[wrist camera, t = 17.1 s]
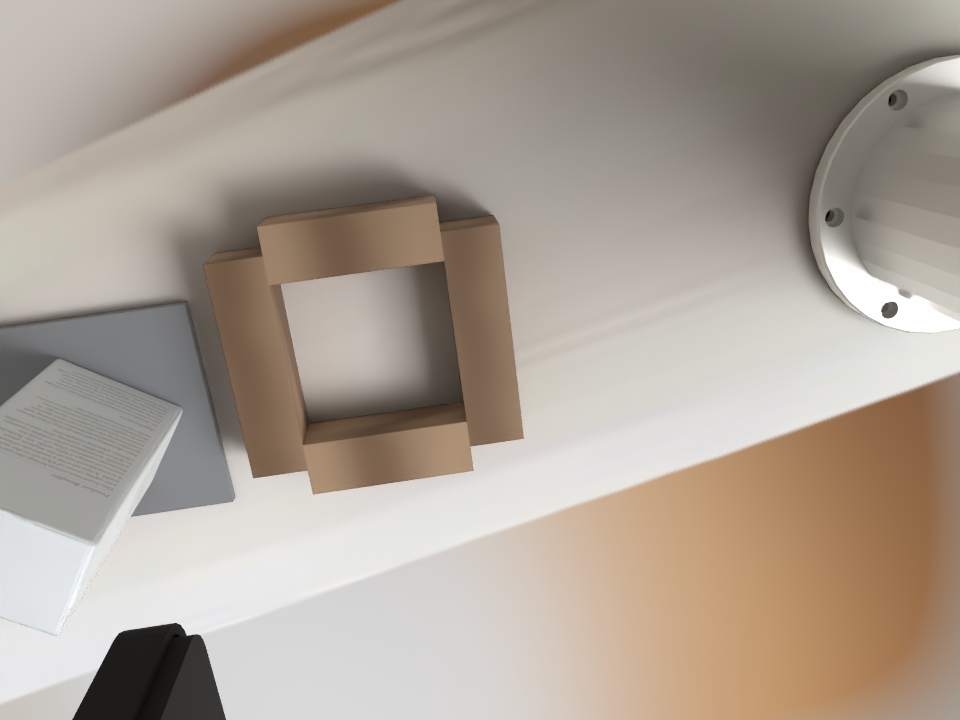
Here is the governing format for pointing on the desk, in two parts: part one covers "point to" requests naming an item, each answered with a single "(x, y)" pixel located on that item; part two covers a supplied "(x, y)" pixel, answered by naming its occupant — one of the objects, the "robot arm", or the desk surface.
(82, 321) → the grey rubber mat
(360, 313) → the desk surface
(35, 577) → the skincare box
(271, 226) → the box
